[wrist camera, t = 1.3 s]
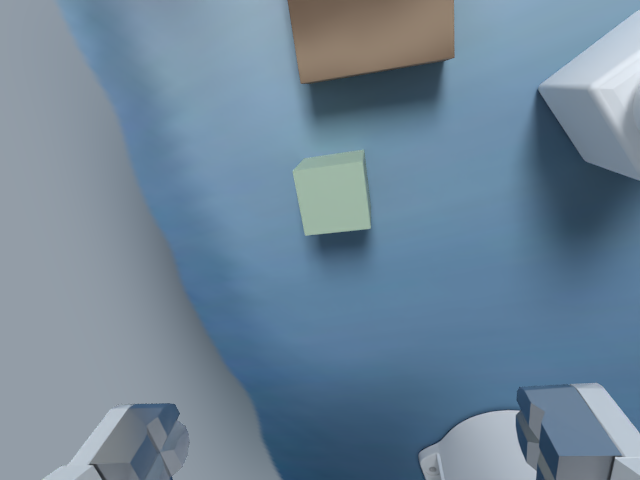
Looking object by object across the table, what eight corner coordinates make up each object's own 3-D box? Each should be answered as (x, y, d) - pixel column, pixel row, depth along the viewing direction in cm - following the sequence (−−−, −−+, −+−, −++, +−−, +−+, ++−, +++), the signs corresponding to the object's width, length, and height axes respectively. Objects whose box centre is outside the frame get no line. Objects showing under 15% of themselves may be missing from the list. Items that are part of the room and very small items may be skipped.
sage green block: (371, 207, 31) (370, 228, 27) (314, 214, 32) (305, 235, 28) (364, 149, 29) (362, 161, 25) (304, 158, 30) (292, 171, 26)
